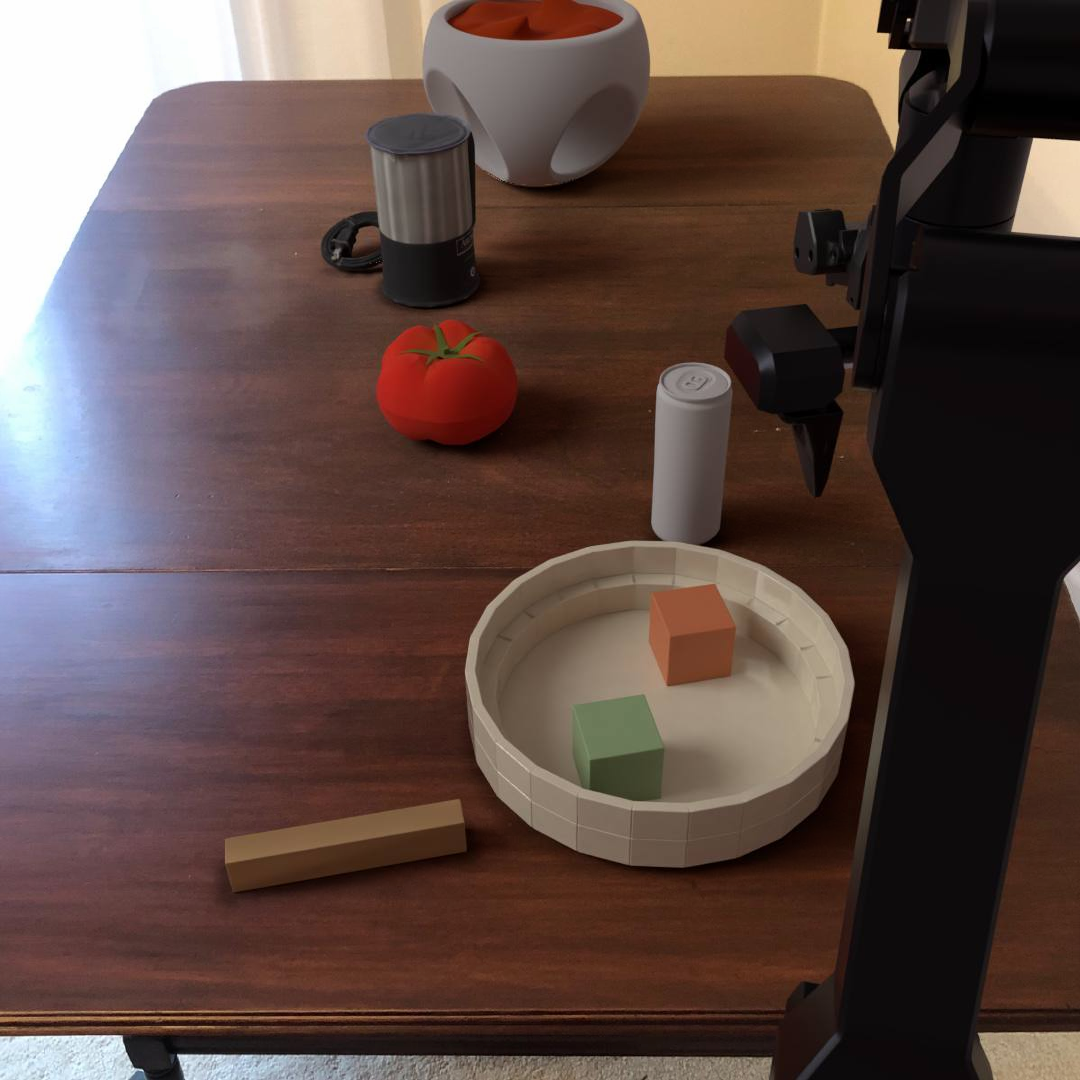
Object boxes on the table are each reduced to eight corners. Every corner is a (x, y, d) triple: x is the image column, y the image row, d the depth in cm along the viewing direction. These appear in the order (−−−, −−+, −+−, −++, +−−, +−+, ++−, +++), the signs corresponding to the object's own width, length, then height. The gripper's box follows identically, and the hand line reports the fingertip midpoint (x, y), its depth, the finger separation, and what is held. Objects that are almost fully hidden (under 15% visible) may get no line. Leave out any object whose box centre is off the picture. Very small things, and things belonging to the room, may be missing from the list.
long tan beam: (467, 851, 64) (464, 822, 62) (233, 893, 62) (224, 863, 60) (462, 827, 65) (459, 798, 63) (233, 867, 63) (224, 838, 62)
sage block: (661, 798, 65) (664, 747, 63) (588, 811, 65) (589, 760, 62) (641, 743, 69) (644, 693, 66) (572, 755, 68) (572, 704, 66)
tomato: (491, 473, 90) (487, 386, 86) (357, 449, 93) (346, 363, 89) (537, 400, 98) (536, 317, 94) (412, 380, 101) (405, 298, 97)
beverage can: (731, 522, 85) (746, 373, 78) (700, 560, 82) (712, 408, 75) (669, 501, 87) (679, 354, 80) (637, 537, 84) (643, 387, 77)
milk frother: (475, 311, 111) (466, 150, 101) (302, 309, 111) (278, 149, 102) (487, 243, 122) (480, 93, 113) (330, 243, 122) (311, 93, 113)
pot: (653, 137, 144) (660, -25, 133) (636, 221, 125) (642, 41, 114) (454, 130, 147) (444, -29, 136) (408, 210, 128) (393, 34, 117)
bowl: (903, 835, 64) (920, 771, 61) (506, 908, 61) (503, 844, 58) (765, 580, 80) (773, 520, 77) (446, 627, 77) (441, 566, 74)
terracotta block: (731, 676, 73) (736, 626, 70) (666, 686, 72) (669, 637, 70) (710, 632, 76) (715, 582, 73) (648, 641, 75) (650, 592, 73)
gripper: (1046, 126, 63) (984, 386, 73) (702, 157, 61) (683, 423, 70) (1175, 210, 55) (1085, 493, 64) (780, 251, 52) (747, 539, 62)
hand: (894, 482), depth 65 cm, fingers open, 9 cm apart
